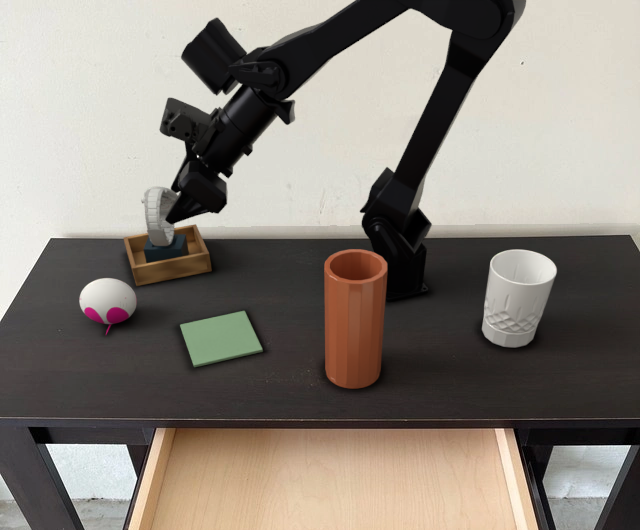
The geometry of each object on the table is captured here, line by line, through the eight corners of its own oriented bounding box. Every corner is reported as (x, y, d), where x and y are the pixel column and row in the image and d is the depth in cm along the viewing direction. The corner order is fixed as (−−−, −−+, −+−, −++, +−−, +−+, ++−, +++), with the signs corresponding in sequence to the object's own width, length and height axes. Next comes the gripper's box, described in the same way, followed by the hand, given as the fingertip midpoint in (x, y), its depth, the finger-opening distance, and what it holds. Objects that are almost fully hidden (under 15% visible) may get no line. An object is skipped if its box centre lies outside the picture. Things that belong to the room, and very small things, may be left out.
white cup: (499, 307, 91) (514, 242, 84) (550, 332, 87) (569, 266, 80) (465, 332, 87) (477, 266, 80) (516, 359, 83) (533, 292, 76)
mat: (244, 312, 91) (244, 310, 90) (262, 351, 85) (262, 349, 85) (180, 326, 89) (179, 324, 88) (194, 367, 83) (193, 365, 83)
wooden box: (198, 241, 104) (195, 223, 102) (211, 271, 98) (209, 253, 96) (127, 254, 102) (123, 237, 100) (136, 286, 96) (132, 268, 94)
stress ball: (90, 345, 91) (68, 330, 85) (94, 290, 93) (73, 271, 86) (143, 344, 91) (125, 329, 84) (146, 289, 92) (129, 270, 86)
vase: (367, 348, 85) (372, 244, 74) (388, 381, 81) (397, 275, 70) (318, 360, 83) (316, 255, 73) (336, 394, 79) (337, 288, 68)
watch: (191, 245, 102) (179, 177, 95) (182, 274, 97) (169, 204, 89) (155, 246, 103) (140, 177, 95) (144, 274, 97) (128, 204, 89)
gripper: (194, 53, 88) (129, 140, 96) (185, 105, 75) (111, 201, 83) (257, 112, 94) (192, 189, 102) (259, 170, 81) (184, 253, 89)
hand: (170, 205), depth 94 cm, fingers open, 9 cm apart
